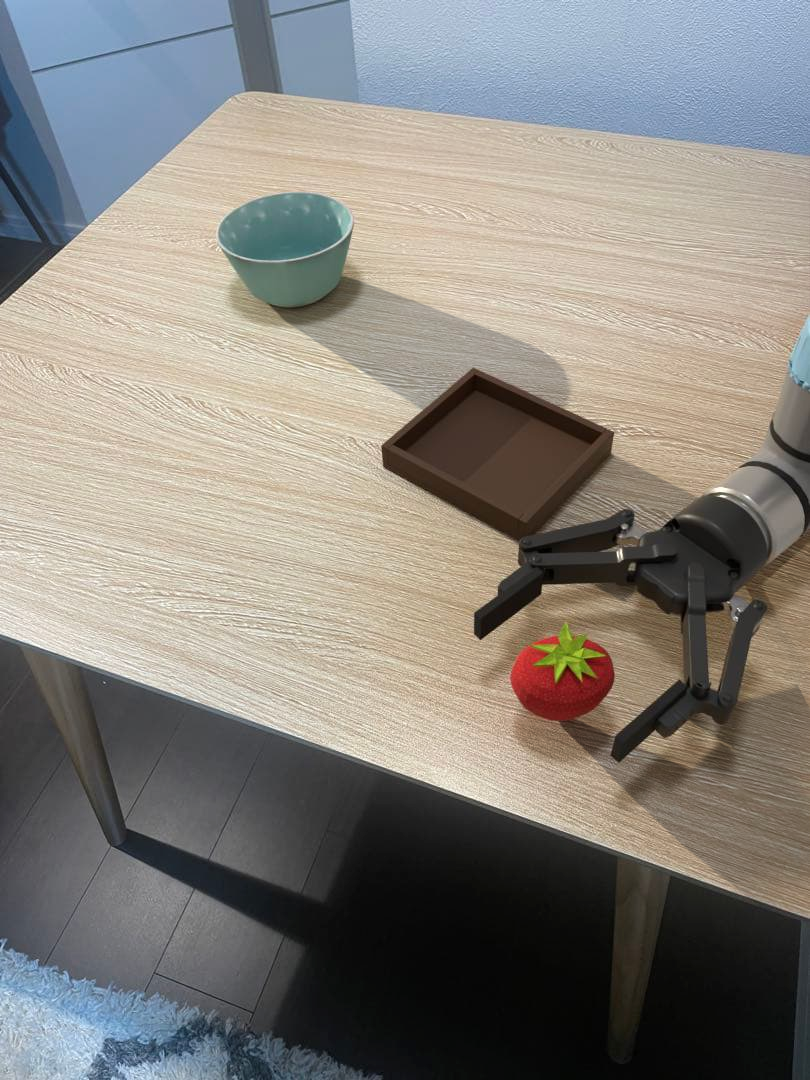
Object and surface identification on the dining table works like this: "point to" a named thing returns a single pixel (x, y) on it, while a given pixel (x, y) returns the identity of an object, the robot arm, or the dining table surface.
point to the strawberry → (562, 676)
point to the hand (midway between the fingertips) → (542, 685)
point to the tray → (498, 452)
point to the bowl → (288, 245)
